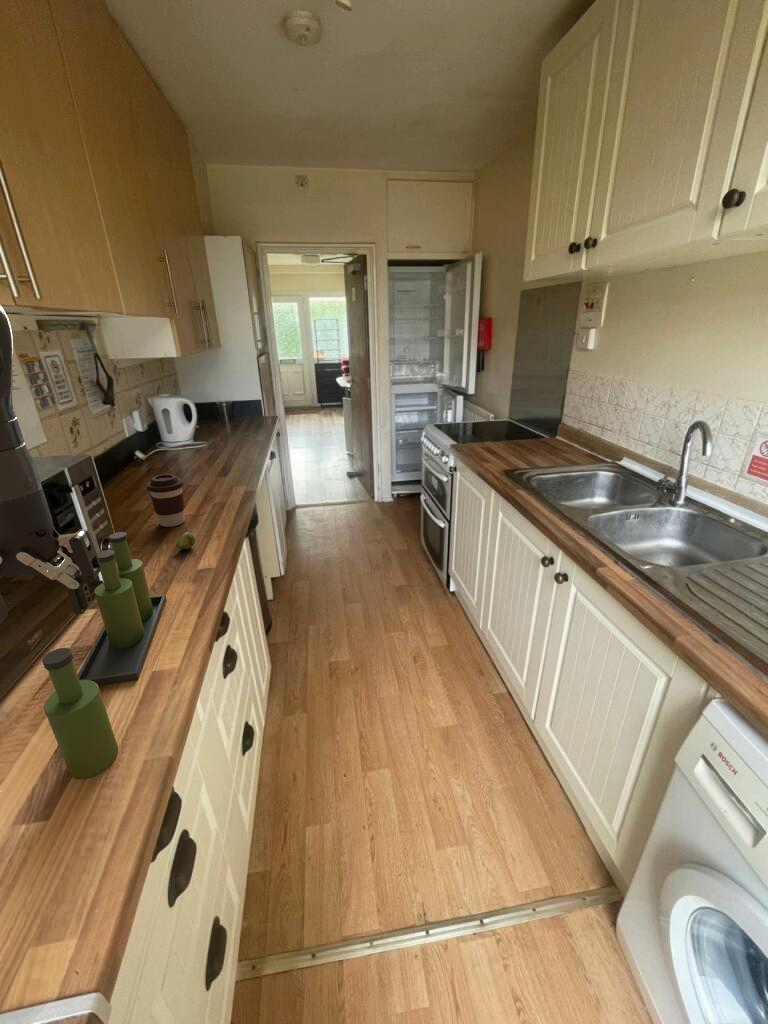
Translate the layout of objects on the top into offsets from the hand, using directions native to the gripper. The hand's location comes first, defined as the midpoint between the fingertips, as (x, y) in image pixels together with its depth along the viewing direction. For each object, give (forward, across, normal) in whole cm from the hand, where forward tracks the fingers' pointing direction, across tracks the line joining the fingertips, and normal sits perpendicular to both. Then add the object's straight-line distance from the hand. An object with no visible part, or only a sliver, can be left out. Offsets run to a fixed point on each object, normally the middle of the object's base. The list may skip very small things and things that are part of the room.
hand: (42, 615), depth 51 cm
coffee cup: (+25, +4, -83) cm, 87 cm away
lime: (+25, -3, -64) cm, 69 cm away
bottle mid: (+25, +2, -26) cm, 36 cm away
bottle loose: (+25, 0, 0) cm, 25 cm away
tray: (+25, +2, -26) cm, 37 cm away
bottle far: (+25, +2, -34) cm, 42 cm away
